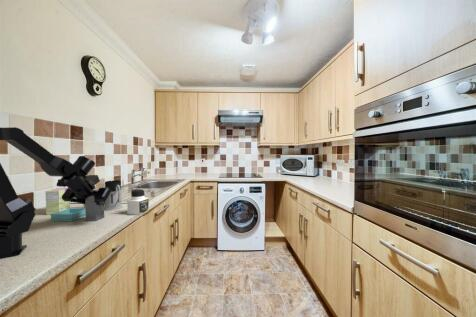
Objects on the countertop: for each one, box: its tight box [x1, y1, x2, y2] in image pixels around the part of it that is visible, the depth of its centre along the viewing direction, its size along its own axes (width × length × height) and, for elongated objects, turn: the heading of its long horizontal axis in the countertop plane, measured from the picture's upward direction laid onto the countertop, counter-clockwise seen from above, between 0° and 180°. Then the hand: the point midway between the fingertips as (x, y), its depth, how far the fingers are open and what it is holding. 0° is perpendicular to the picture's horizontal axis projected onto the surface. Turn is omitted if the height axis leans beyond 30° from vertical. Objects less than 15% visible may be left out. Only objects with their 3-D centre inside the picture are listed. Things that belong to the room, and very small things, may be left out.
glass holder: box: [104, 179, 123, 211], centre depth 109 cm, size 9×14×15 cm, turn 49°
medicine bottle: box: [126, 188, 150, 216], centre depth 102 cm, size 7×7×12 cm
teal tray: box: [50, 207, 86, 222], centre depth 94 cm, size 10×10×3 cm
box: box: [45, 187, 71, 216], centre depth 104 cm, size 10×6×12 cm, turn 17°
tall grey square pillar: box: [85, 196, 105, 222], centre depth 92 cm, size 5×5×13 cm
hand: (97, 204), depth 93 cm, fingers open, 7 cm apart
